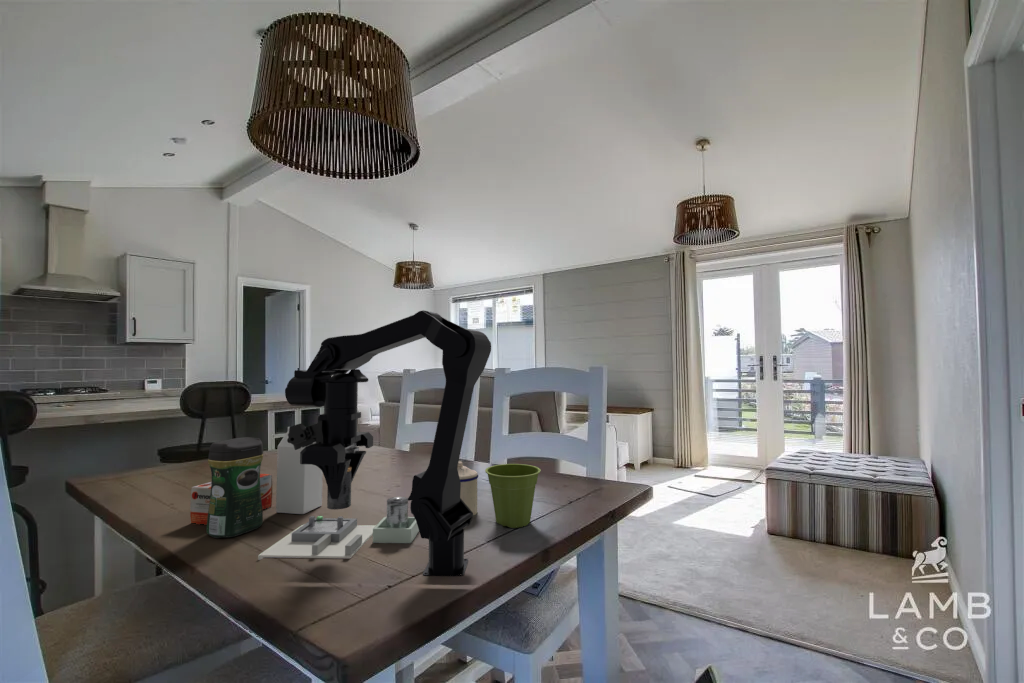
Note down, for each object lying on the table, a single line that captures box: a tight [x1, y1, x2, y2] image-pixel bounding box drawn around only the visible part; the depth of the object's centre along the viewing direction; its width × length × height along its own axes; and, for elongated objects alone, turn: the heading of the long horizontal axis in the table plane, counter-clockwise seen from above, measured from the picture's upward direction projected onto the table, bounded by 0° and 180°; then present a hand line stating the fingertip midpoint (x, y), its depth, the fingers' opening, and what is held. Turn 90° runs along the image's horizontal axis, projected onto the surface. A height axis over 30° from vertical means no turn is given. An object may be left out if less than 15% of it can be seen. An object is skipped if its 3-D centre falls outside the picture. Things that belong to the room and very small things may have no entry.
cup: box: [372, 516, 420, 544], centre depth 93 cm, size 7×7×3 cm
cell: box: [326, 465, 352, 510], centre depth 86 cm, size 4×4×7 cm
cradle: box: [302, 515, 348, 532], centre depth 93 cm, size 6×6×3 cm
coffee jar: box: [206, 436, 264, 539], centre depth 97 cm, size 10×8×19 cm
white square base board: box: [257, 515, 377, 561], centre depth 90 cm, size 16×16×3 cm
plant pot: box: [484, 463, 541, 529], centre depth 102 cm, size 12×12×11 cm
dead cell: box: [386, 496, 409, 528], centre depth 93 cm, size 4×4×7 cm
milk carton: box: [275, 426, 324, 515], centre depth 112 cm, size 7×7×19 cm
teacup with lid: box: [458, 461, 479, 516], centre depth 109 cm, size 12×9×12 cm
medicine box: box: [189, 473, 273, 526], centre depth 108 cm, size 15×8×8 cm, turn 166°
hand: (339, 495), depth 86 cm, fingers closed on cell, 4 cm apart
